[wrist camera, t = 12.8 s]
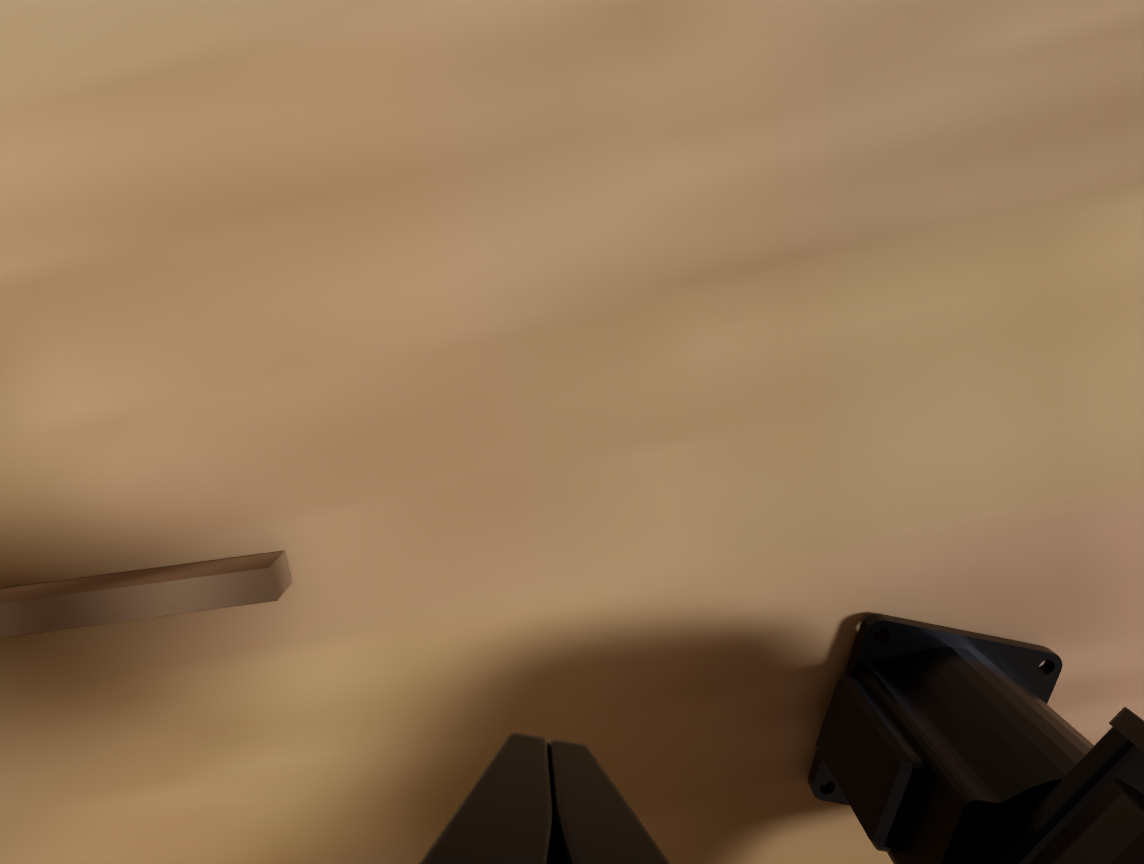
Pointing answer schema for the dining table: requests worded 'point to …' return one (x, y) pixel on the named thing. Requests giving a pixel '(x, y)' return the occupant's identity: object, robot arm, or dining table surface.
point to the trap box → (143, 594)
